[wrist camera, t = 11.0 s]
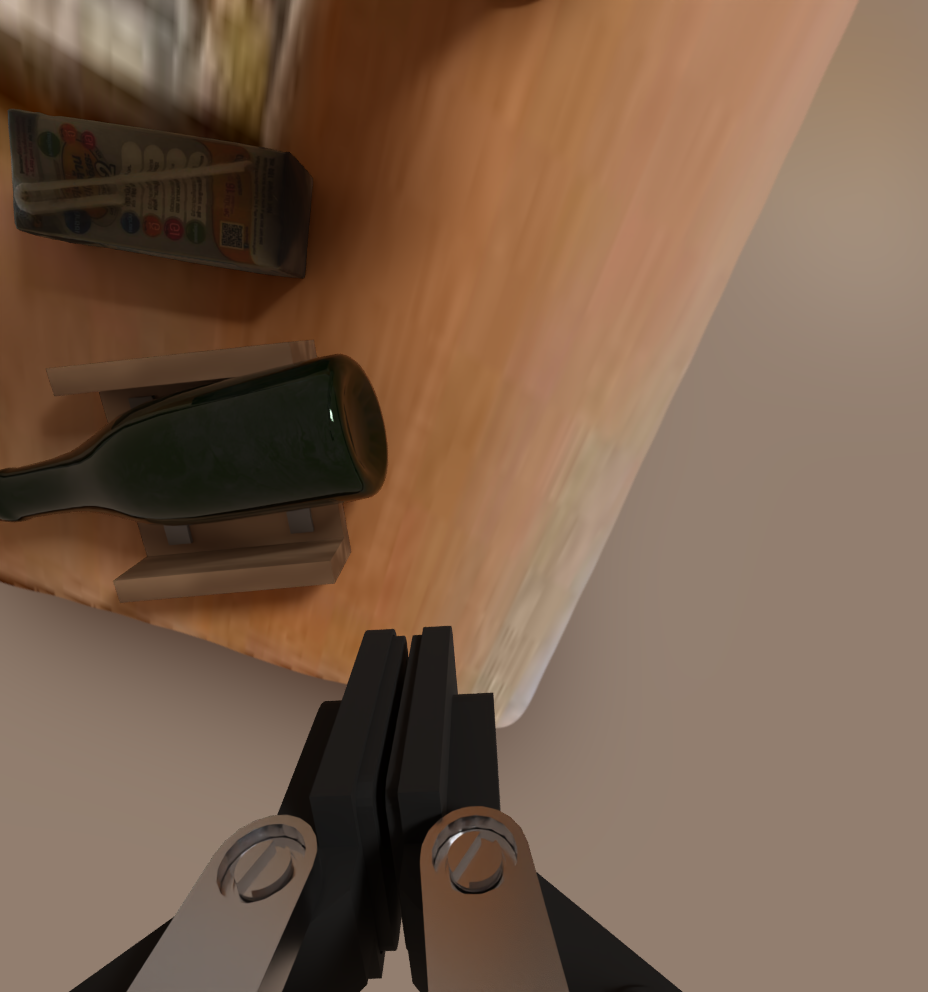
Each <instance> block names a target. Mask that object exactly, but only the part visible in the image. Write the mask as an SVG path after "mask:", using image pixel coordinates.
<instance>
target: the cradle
mask: <svg viewBox="0 0 928 992" xmlns="http://www.w3.org/2000/svg"><path fill="white" fill-rule="evenodd" d="M313 358H317V356H316V350H315V344H314V340H306V341H295V342H285V343H276V344H267V345H257V346H248V347H239V348H230V349H221V350H212V351H202V352H193V353H184V354H175V355H166V356H156V357H147V358H138V359H129V360H120V361H111V362H101V363H92V364H83V365H74V366H65V367H56V368H46V371H47V375H48V378H49V381H50V384H51V387H52V390H53V393H54V396H61V395H71V394H80V393H89V392H99V394H100V397H101V401H102V404H103V407H104V411H105V414H106V418H107V421H108V423H109V422H110V421H112V420H113V419H114V418H116V417H117V416H118V415H120V414H122V413H124V412H126V411H128V410H130V409H132V408H134V407H136V406H138V405H140V404H142V403H144V402H146V401H150V400H153V399H156V398H160V397H163V396H166V395H169V394H173V393H176V392H179V391H183V390H187V389H191V388H195V387H199V386H203V385H207V384H211V383H215V382H219V381H223V380H227V379H231V378H235V377H239V376H243V375H247V374H251V373H255V372H259V371H263V370H267V369H271V368H275V367H279V366H283V365H288V364H292V363H296V362H300V361H304V360H309V359H313ZM137 523H138V527H139V530H140V533H141V537H142V540H143V544H144V547H145V550H146V554H147V557H146V558H144V559H143V560H142V561H140V562H139V563H137V564H136V565H135V566H133V567H132V568H130V569H129V570H128V571H126V572H125V573H123V574H122V575H121V576H119V577H118V578H116V579H115V580H114V581H113V582H114V585H115V589H116V592H117V595H118V598H119V601H120V603H124V602H135V601H146V600H157V599H168V598H179V597H190V596H201V595H212V594H223V593H234V592H245V591H257V590H268V589H279V588H290V587H301V586H312V585H323V584H334V583H335V582H336V580H337V578H338V576H339V574H340V573H341V571H342V569H343V567H344V565H345V563H346V561H347V559H348V557H349V555H350V554H351V548H350V542H349V537H348V531H347V525H346V520H345V514H344V508H343V503H340V504H334V505H328V506H322V507H316V508H310V509H303V510H297V511H290V512H284V513H277V514H271V515H264V516H258V517H251V518H244V519H237V520H231V521H224V522H217V523H208V524H199V525H189V526H164V525H149V524H145V523H140V522H137Z"/></svg>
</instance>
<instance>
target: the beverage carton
mask: <svg viewBox="0 0 928 992" xmlns="http://www.w3.org/2000/svg"><path fill="white" fill-rule="evenodd" d="M8 125H9V137H10V149H11V163H12V183H13V205H14V219H15V225H16V228H17V229H19V230H20V231H24V232H27V233H30V234H33V235H37V236H41V237H46V238H50V239H55V240H61V241H66V242H69V243H77V244H84V245H89V246H97V247H105V248H112V249H118V250H124V251H130V252H135V253H142V254H147V255H153V256H158V257H164V258H169V259H175V260H180V261H186V262H192V263H198V264H204V265H210V266H216V267H222V268H228V269H235V270H241V271H247V272H254V273H259V274H267V275H275V276H282V277H293V278H302V279H303V278H304V277H305V270H306V258H307V244H308V232H309V222H310V211H311V198H312V187H313V178H312V177H311V175H310V174H309V172H308V171H307V170H306V169H305V168H304V166H303V165H301V164H300V163H299V161H298V160H297V159H296V158H295V157H294V156H293V155H292V154H291V153H290V152H281V151H277V150H272V149H268V148H263V147H257V146H251V145H246V144H241V143H235V142H229V141H223V140H216V139H210V138H204V137H197V136H191V135H184V134H178V133H172V132H165V131H159V130H152V129H146V128H139V127H132V126H125V125H118V124H111V123H104V122H97V121H91V120H83V119H76V118H69V117H61V116H54V117H53V116H48V115H45V114H42V113H39V112H29V111H24V110H17V109H9V110H8Z"/></svg>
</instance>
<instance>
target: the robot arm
mask: <svg viewBox="0 0 928 992" xmlns="http://www.w3.org/2000/svg"><path fill="white" fill-rule="evenodd" d="M401 917H402V923H403V930H404V937H405V943H406V949H407V950H408V954H409V961H410V968H411V975H412V982H413V984H414V985H415V986H416V988H417V989H418V990H419V991H420V992H682V991H681V990H680V989H678V988H677V987H676V986H675V985H673V984H672V983H671V982H670V981H669V980H667V979H666V978H665V977H664V976H663V975H661V974H660V973H659V972H658V971H656V970H655V969H654V968H653V967H652V966H650V965H649V964H648V963H647V962H646V961H644V960H643V959H642V958H641V957H639V956H638V955H637V954H636V953H635V952H633V951H632V950H631V949H630V948H628V947H627V946H626V945H625V944H624V943H622V942H621V941H620V940H619V939H618V938H616V937H615V936H614V935H612V934H611V933H610V932H609V931H608V930H607V929H605V928H604V927H603V926H602V925H600V924H599V923H598V922H597V921H595V920H594V919H593V918H592V917H591V916H589V915H588V914H587V913H586V912H585V911H583V910H582V909H581V908H580V907H578V906H577V905H576V904H575V903H574V902H572V901H571V900H570V899H569V898H567V897H566V896H565V895H564V894H563V893H561V892H560V891H559V890H558V889H557V888H555V887H554V886H553V885H552V884H550V883H549V882H548V881H547V880H546V879H544V878H543V877H542V876H541V875H539V874H538V873H537V872H536V870H535V866H534V863H533V859H532V856H531V852H530V848H529V845H528V842H527V840H526V837H525V835H524V834H523V831H522V829H521V827H520V826H519V825H518V824H517V823H516V822H515V821H514V820H513V819H512V818H511V817H509V816H508V815H506V814H504V813H502V812H501V811H500V795H499V778H498V761H497V745H496V729H495V713H494V698H493V693H477V694H458V690H457V679H456V668H455V656H454V645H453V634H452V627H451V626H439V627H424V628H423V632H422V635H413V637H412V642H411V648H410V653H409V657H408V649H407V641H406V637H405V636H396V632H395V630H394V629H384V630H367V631H366V632H365V634H364V637H363V640H362V643H361V646H360V648H359V651H358V654H357V657H356V660H355V663H354V666H353V669H352V672H351V675H350V678H349V681H348V684H347V687H346V690H345V693H344V696H343V699H342V700H341V701H325V702H323V703H322V704H321V706H320V708H319V710H318V712H317V715H316V717H315V720H314V722H313V725H312V727H311V730H310V733H309V735H308V738H307V740H306V743H305V745H304V748H303V751H302V753H301V756H300V758H299V761H298V763H297V766H296V768H295V771H294V774H293V776H292V779H291V781H290V784H289V787H288V789H287V792H286V794H285V797H284V799H283V802H282V805H281V807H280V810H279V812H278V815H273V816H268V817H265V818H262V819H258V820H255V821H253V822H252V823H250V824H248V825H246V826H244V827H243V828H240V829H239V830H238V831H236V832H235V833H234V834H233V835H232V836H231V837H229V838H228V839H227V840H225V842H224V843H223V844H222V845H221V846H220V848H219V849H218V850H217V852H216V853H215V854H214V855H213V857H212V858H211V860H210V862H209V863H208V865H207V866H206V868H205V869H204V871H203V873H202V874H201V875H200V877H199V879H198V880H197V882H196V883H195V885H194V886H193V888H192V890H191V891H190V893H189V894H188V896H187V897H186V899H185V901H184V902H183V904H182V906H181V907H180V909H179V910H178V912H177V913H176V915H175V916H174V917H173V918H172V919H170V920H169V921H167V922H166V923H165V924H163V925H162V926H160V927H159V928H158V929H156V930H155V931H154V932H152V933H151V934H149V935H148V936H146V937H145V938H144V939H142V940H141V941H139V942H138V943H137V944H135V945H134V946H132V947H131V948H130V949H128V950H127V951H125V952H124V953H123V954H121V955H120V956H118V957H117V958H116V959H114V960H113V961H111V962H110V963H109V964H107V965H106V966H104V967H103V968H102V969H100V970H99V971H98V972H96V973H95V974H93V975H92V976H90V977H89V978H88V979H86V980H85V981H83V982H82V983H81V984H79V985H78V986H77V987H75V988H74V989H72V990H71V991H69V992H360V991H361V990H362V989H363V988H364V987H365V986H366V985H367V982H368V979H375V978H382V971H383V964H384V957H385V951H396V949H397V947H398V941H399V933H400V925H401Z"/></svg>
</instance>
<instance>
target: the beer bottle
mask: <svg viewBox="0 0 928 992" xmlns="http://www.w3.org/2000/svg"><path fill="white" fill-rule="evenodd" d="M387 467H388V445H387V437H386V430H385V425H384V420H383V416H382V412H381V408H380V405H379V402H378V399H377V396H376V393H375V391H374V388H373V386H372V384H371V382H370V380H369V378H368V376H367V375H366V373H365V371H364V370H363V369H362V368H361V366H360V365H359V364H358V363H357V362H356V361H355V360H354V359H352V358H351V357H349V356H347V355H343V354H334V355H328V356H323V357H317V358H313V359H309V360H304V361H300V362H296V363H292V364H288V365H283V366H279V367H275V368H271V369H267V370H263V371H259V372H255V373H251V374H247V375H243V376H239V377H235V378H231V379H227V380H223V381H219V382H215V383H211V384H207V385H203V386H199V387H195V388H191V389H187V390H183V391H179V392H176V393H173V394H169V395H166V396H163V397H160V398H156V399H153V400H150V401H146V402H144V403H142V404H140V405H138V406H136V407H134V408H132V409H130V410H128V411H126V412H124V413H122V414H120V415H118V416H117V417H116V418H114V419H113V420H112V421H110V422H109V423H108V424H106V425H105V426H104V427H103V428H102V429H100V430H99V431H98V432H97V433H95V434H94V435H93V436H92V437H91V438H89V439H88V440H87V441H85V442H84V443H83V444H81V445H80V446H79V447H77V448H75V449H74V450H72V451H70V452H68V453H65V454H63V455H60V456H58V457H55V458H52V459H49V460H45V461H42V462H39V463H35V464H31V465H27V466H22V467H18V468H5V469H2V470H0V521H4V522H21V521H26V520H29V519H32V518H34V517H39V516H45V515H52V514H61V513H70V512H94V513H101V514H106V515H111V516H115V517H120V518H124V519H128V520H132V521H136V522H140V523H145V524H149V525H164V526H189V525H199V524H208V523H217V522H224V521H231V520H237V519H244V518H251V517H258V516H264V515H271V514H277V513H284V512H290V511H297V510H303V509H310V508H316V507H322V506H328V505H334V504H340V503H346V502H352V501H356V500H361V499H365V498H369V497H373V496H374V495H375V494H377V493H378V492H379V491H380V490H381V488H382V486H383V484H384V481H385V478H386V474H387Z"/></svg>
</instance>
